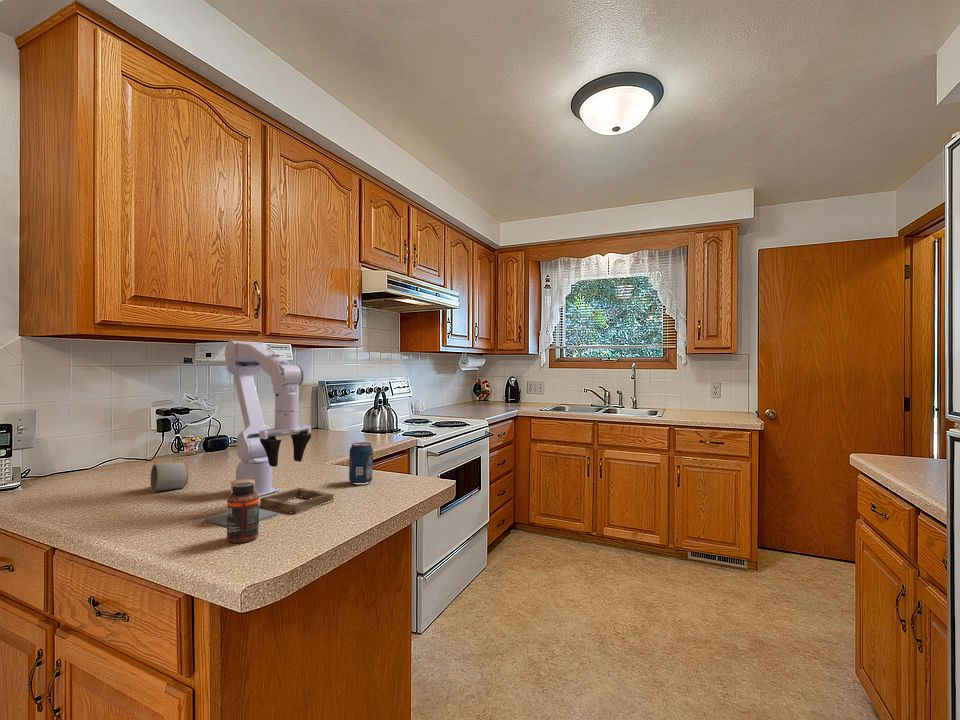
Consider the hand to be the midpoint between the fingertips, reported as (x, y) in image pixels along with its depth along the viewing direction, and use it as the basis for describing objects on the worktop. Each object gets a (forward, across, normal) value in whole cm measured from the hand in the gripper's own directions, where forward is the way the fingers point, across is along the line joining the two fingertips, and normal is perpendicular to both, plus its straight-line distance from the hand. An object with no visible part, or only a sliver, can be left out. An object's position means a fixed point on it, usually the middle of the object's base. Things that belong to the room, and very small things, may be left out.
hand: (285, 463), depth 125 cm
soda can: (+11, +26, -1) cm, 28 cm away
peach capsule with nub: (+10, -13, -1) cm, 16 cm away
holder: (+10, +1, -3) cm, 11 cm away
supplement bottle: (+11, -21, -14) cm, 27 cm away
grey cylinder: (+11, -8, +41) cm, 43 cm away
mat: (+10, -13, -1) cm, 17 cm away
